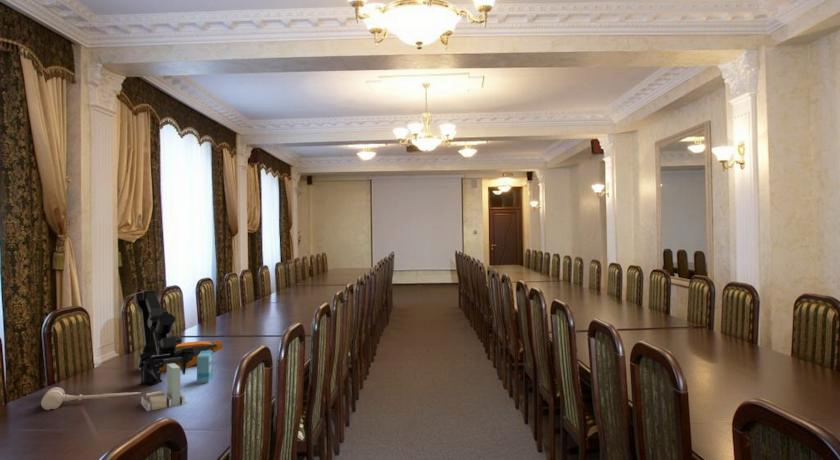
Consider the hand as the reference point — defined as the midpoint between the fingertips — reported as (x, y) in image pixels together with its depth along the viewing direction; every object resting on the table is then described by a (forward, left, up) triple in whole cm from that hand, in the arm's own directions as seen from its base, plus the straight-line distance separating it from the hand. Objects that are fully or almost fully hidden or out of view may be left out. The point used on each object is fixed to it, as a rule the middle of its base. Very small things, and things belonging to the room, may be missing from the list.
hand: (170, 376), depth 190 cm
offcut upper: (-1, -6, -7) cm, 9 cm away
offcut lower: (-1, -6, -8) cm, 11 cm away
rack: (+1, -5, -10) cm, 11 cm away
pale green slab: (+3, -2, -8) cm, 9 cm away
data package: (-4, +27, -10) cm, 28 cm away
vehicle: (-30, +50, -10) cm, 59 cm away
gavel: (-28, -4, -10) cm, 30 cm away
